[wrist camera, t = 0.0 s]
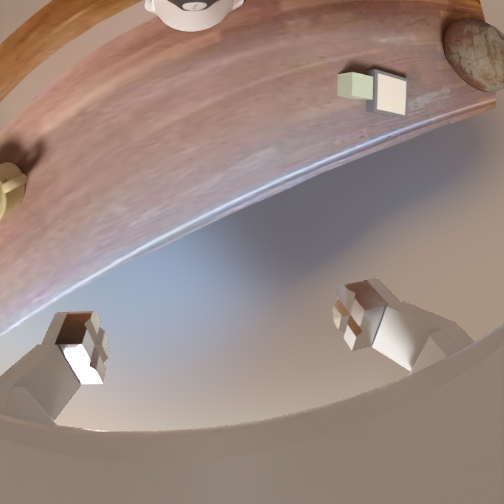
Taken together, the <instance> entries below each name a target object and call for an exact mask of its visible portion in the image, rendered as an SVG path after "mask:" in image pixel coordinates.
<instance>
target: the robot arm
mask: <svg viewBox="0 0 504 504" xmlns="http://www.w3.org/2000/svg"><path fill="white" fill-rule="evenodd" d="M243 3H244V0H152V1H151V0H146V2H145V9H146V10H148V11H150V12H152V13H154V14H156V15H158V16H159V18H160V19H161V20H162V21H163V22H164V23H165V24H166V25H168V26H170V27H172V28H174V29H177V30H181V31H200V30H204V29H208V28H210V27H212V26H214V25H216V24H218V23H219V22H221V21H222V20H223V19H224V18H225V17H226V16H227V15H228V14H229V13H230V12H231V11H232V10H234V9H236V8H238V7H240V6H242V5H243ZM336 295H337V297H338V299H339V300H338V301H337V302H336V303H335V304H334V307H333V320H334V323H335V325H336V327H337V329H338V330H340V331H341V332H344V333H345V335H344V339H345V341H346V342H347V344H348V346H349V347H350V349H351V350H352V351H354V350H358V349H362V348H366V347H369V346H372V347H373V348H375V349H376V350H378V351H379V352H381V353H383V354H384V355H386V356H387V357H389V358H390V359H392V360H393V361H395V362H397V363H398V364H400V365H401V366H403V367H404V368H406V369H408V370H409V371H411V372H410V373H409V375H408V376H406V377H403V378H401V379H399V380H396V381H393V382H391V383H388V384H386V385H383V386H381V387H378V388H375V389H373V390H370V391H367V392H364V393H361V394H359V395H356V396H353V397H350V398H346V399H343V400H340V401H337V402H334V403H330V404H327V405H324V406H320V407H316V408H312V409H308V410H305V411H301V412H297V413H293V414H288V415H283V416H279V417H274V418H269V419H264V420H258V421H253V422H247V423H240V424H234V425H226V426H219V427H209V428H199V429H187V430H170V431H111V430H110V431H109V430H94V429H83V428H74V427H65V426H58V425H57V424H56V423H55V421H54V420H55V419H56V418H57V416H58V415H59V413H60V412H61V411H62V410H63V408H64V407H65V405H66V404H67V403H68V402H69V400H70V399H71V398H72V396H73V395H74V394H75V392H76V391H77V390H78V389H79V387H80V386H81V384H103V382H104V376H105V371H106V367H105V365H104V363H103V362H104V361H105V360H106V359H108V355H109V342H108V338H107V335H106V332H105V331H104V330H103V329H101V328H100V327H99V326H100V323H101V320H100V318H99V315H98V313H96V312H95V311H89V312H58V313H56V314H55V316H54V318H53V320H52V322H51V324H50V326H49V328H48V331H47V333H46V335H45V337H44V339H43V342H42V344H41V345H37V346H35V347H34V348H33V349H32V350H31V351H29V352H28V353H27V354H26V355H25V356H23V357H22V358H21V359H20V360H19V361H18V362H16V363H15V364H14V365H13V366H12V367H10V368H9V369H8V370H7V371H6V372H5V373H4V374H2V375H1V376H0V504H504V324H502V325H501V326H499V327H498V328H496V329H495V330H493V331H491V332H490V333H488V334H487V335H485V336H483V337H482V338H481V339H479V340H477V341H475V342H474V341H473V340H472V339H471V338H470V337H469V336H468V335H467V333H466V332H465V331H464V330H463V329H462V328H461V327H460V326H459V325H458V324H457V323H456V322H453V321H451V320H449V319H446V318H444V317H441V316H439V315H436V314H434V313H431V312H429V311H427V310H424V309H422V308H419V307H417V306H414V305H412V304H409V303H407V302H400V301H399V299H398V298H397V297H396V296H395V295H394V294H393V293H392V292H391V291H390V290H389V289H388V288H387V287H386V286H385V285H384V284H383V283H382V282H380V280H379V279H376V278H372V279H368V280H364V281H360V282H354V283H348V284H342V285H339V287H338V289H337V293H336Z"/></svg>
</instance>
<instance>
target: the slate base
mask: <svg viewBox="0 0 504 504" xmlns="http://www.w3.org/2000/svg"><path fill="white" fill-rule="evenodd" d="M367 75H368V76H372V77H373V100H371V99H367V102H366V111H367V112H372V113H378V114H383V115H388V116H393V117H397V118H404V119H407V106H408V79H406V78H403V77H400V76H396V75H393V74H390V73H386V72H383V71H379V70H376V69H373V70H367Z"/></svg>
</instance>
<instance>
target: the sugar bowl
mask: <svg viewBox="0 0 504 504" xmlns="http://www.w3.org/2000/svg"><path fill="white" fill-rule="evenodd" d="M26 179H27V178H26V175H25V174H24V173H23V174H22V172H21V170H20V169H19V168H18V167H17V166H16V165H15V164H13V163H10V162H5V163H2V164H0V219H2V218H3V217H4V216H6V215H7V214H8V213H10V212H11V211H12V210H13V209H15V208H16V207H17V206H18V205H19V204H20V203H21V201H22V199H23V197H24V193H25V183H26Z"/></svg>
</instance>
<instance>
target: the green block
mask: <svg viewBox="0 0 504 504" xmlns="http://www.w3.org/2000/svg"><path fill="white" fill-rule="evenodd" d="M338 96H341V97H347V98H353V99H371V100H373V77H372V76H368V75H364V74H359V73H355V72H349V73H343V74H338Z"/></svg>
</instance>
